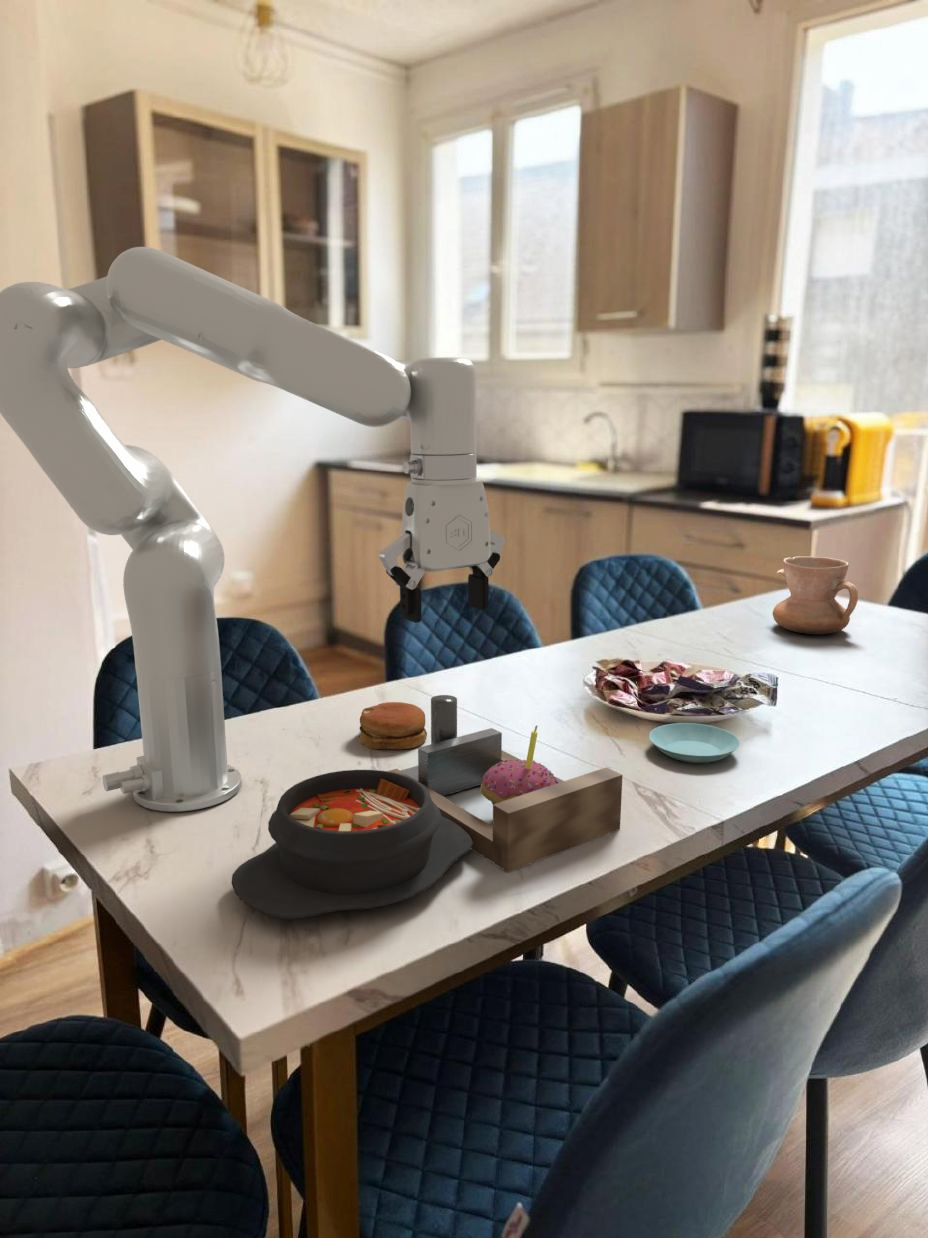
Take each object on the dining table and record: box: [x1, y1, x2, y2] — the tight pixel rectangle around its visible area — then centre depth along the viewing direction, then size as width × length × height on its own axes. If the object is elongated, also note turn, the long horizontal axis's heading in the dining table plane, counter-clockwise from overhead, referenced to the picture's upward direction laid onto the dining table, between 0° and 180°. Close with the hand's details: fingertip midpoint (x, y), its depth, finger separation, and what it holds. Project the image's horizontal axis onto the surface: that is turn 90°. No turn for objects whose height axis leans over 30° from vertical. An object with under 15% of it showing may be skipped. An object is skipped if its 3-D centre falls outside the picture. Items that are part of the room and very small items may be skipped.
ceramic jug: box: [772, 555, 859, 635], centre depth 184 cm, size 18×14×14 cm
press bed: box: [386, 749, 623, 873], centre depth 107 cm, size 16×24×6 cm, turn 36°
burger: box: [359, 701, 428, 751], centre depth 128 cm, size 10×9×5 cm
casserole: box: [231, 769, 473, 920], centre depth 92 cm, size 25×19×8 cm
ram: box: [399, 694, 503, 797], centre depth 113 cm, size 11×7×10 cm, turn 126°
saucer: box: [648, 722, 741, 764], centre depth 124 cm, size 12×12×2 cm
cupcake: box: [480, 724, 558, 805], centre depth 103 cm, size 9×8×12 cm
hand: (445, 613), depth 110 cm, fingers open, 9 cm apart
